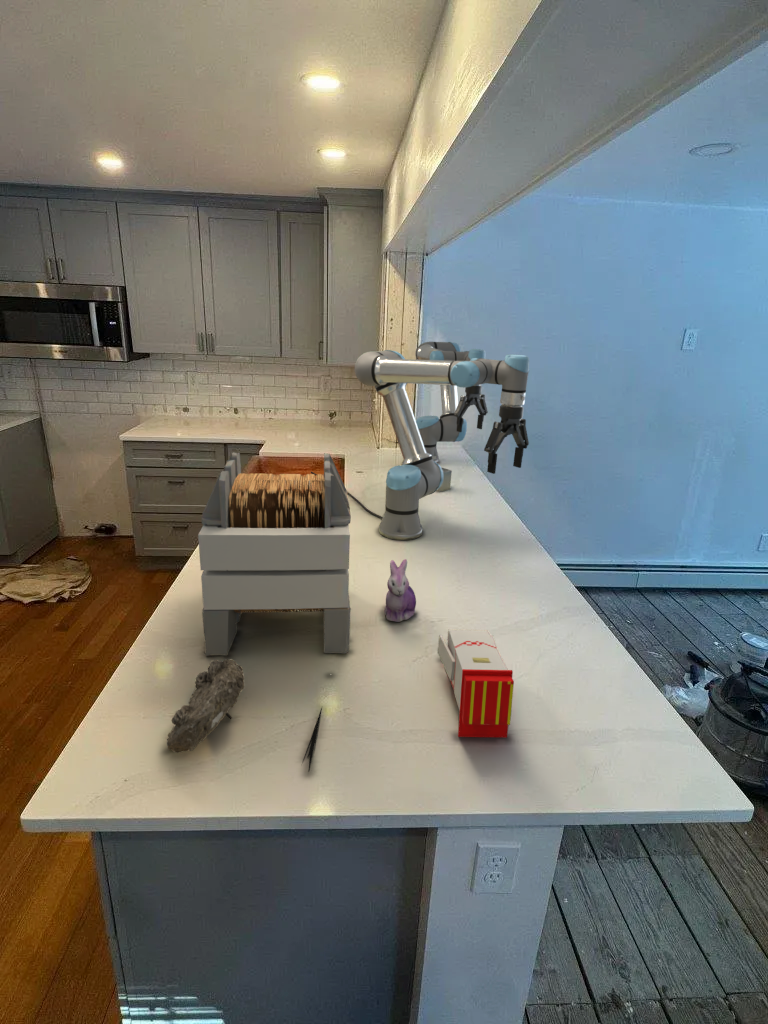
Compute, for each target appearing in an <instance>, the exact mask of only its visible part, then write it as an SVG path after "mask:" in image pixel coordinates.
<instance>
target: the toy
mask: <svg viewBox="0 0 768 1024" xmlns="http://www.w3.org/2000/svg"><path fill="white" fill-rule="evenodd" d="M446 640H447V643H446V641H445V639H444V636H443V635H442V634H439V637H438V646H437V656H438V657H439V659H440V661H441V663H442V666H443V668H444V670H445V672H446V674H447V677H448V679H449V681H450V684H451V687H452V690H453V693H454V697H455V701H456V705H457V708H458V711H459V714H458V715H459V716H458V730H457V731H458V732H457V737H458V738H508V731H509V726H510V725H511V717H512V707H513V697H514V696H513V695H514V684H515V680H514V679H513V673H514V671H513V670H512V669H508V667H507V665H506V662H505V661H504V659H503V658H502V655H501V653H500V651H499V649H498V647H497V643H496V639H495V637H494V635H493V634H491V632H490V631H489V629H467V628H466V629H465V628H463V629H461V628H460V629H459V628H448V630H447V639H446Z"/></svg>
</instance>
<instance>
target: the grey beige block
mask: <svg viewBox="0 0 768 1024" xmlns="http://www.w3.org/2000/svg"><path fill="white" fill-rule="evenodd" d="M441 468H442V470H443V474H444V479H443V483H442V485H441V487H440V488H439V489H438V490H436V491H435V492H437V493H440V492H445V491H448V490H449V491H450V490H451V486H452V485H451V483H452V472H453V471H452V470H451V469H448V468H445V467H442V466H441Z"/></svg>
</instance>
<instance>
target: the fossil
mask: <svg viewBox="0 0 768 1024" xmlns="http://www.w3.org/2000/svg"><path fill="white" fill-rule="evenodd" d="M243 670H244V669H243V667H242V665H240V664H237V662H236V661H235V660H234V659H232V658H231V659H227V658H226V659H224V660H223V661H222V660H217V659H212V660H211V661H210V663H209V665H208V666H207V671H201V672H199V673H198V674H197V675H196V676H195V680H194V684H195V685H194V687H195V689H194V690H193V693H192V694H191V697H190V698H189V700H188V704H184V705H182V706H181V707H180V709H177V710H176V711H175V713H174V715H173V716H172V718H171V723H172V724H173V727H172V730H171V731H170V732H168V734H167V738H166V741H167V742H166V745H167V749H168V750H169V751H173V752H174V753H176V754H178V753H182V752H188V751H189V752H192V751H193V750H195V748H196V747H197V746H199V744H200V743H201V742H203V741H204V740H205V739H206V738H207V737H208V736H209V735H210V734H211V733H212V732H214V730H215V729H217V727H218V726H219V724H220V722H221V721H222V720H223V719H224V718H225V716H226V717H227V719H229V720H233V717H232V715H230V714H229V710H230V709H231V708H234V706H235V704H236V703H237V702H238V699H239V697H240V695H241V693H242V691H243V690H245V689H244V688H245V675H244V671H243Z"/></svg>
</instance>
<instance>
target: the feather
mask: <svg viewBox="0 0 768 1024" xmlns="http://www.w3.org/2000/svg"><path fill="white" fill-rule="evenodd" d="M329 675H330V676H331V675H332V674H331V673H330V674H329ZM322 710H323V707H321V708H320V710H319V713H318V716H317V719H316V723H315V725H314V728H313V731H312V733H311V737H310V739H309V742H308V745H307V748H306V751H305V754H304V757H303V760H302V763H301V767H302V765H303V763H304V761H305V758H308V759H309V760H308V762H307V763H308V764H307V766H308V771H310V770H311V766H312V765H311V764H312V760H313V757H315V756H314V755H315V751H316V749H315V746H317V739H318V733H319V729H320V722H321V717H322V712H323V711H322ZM313 754H314V755H313ZM306 755H307V757H306Z"/></svg>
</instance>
